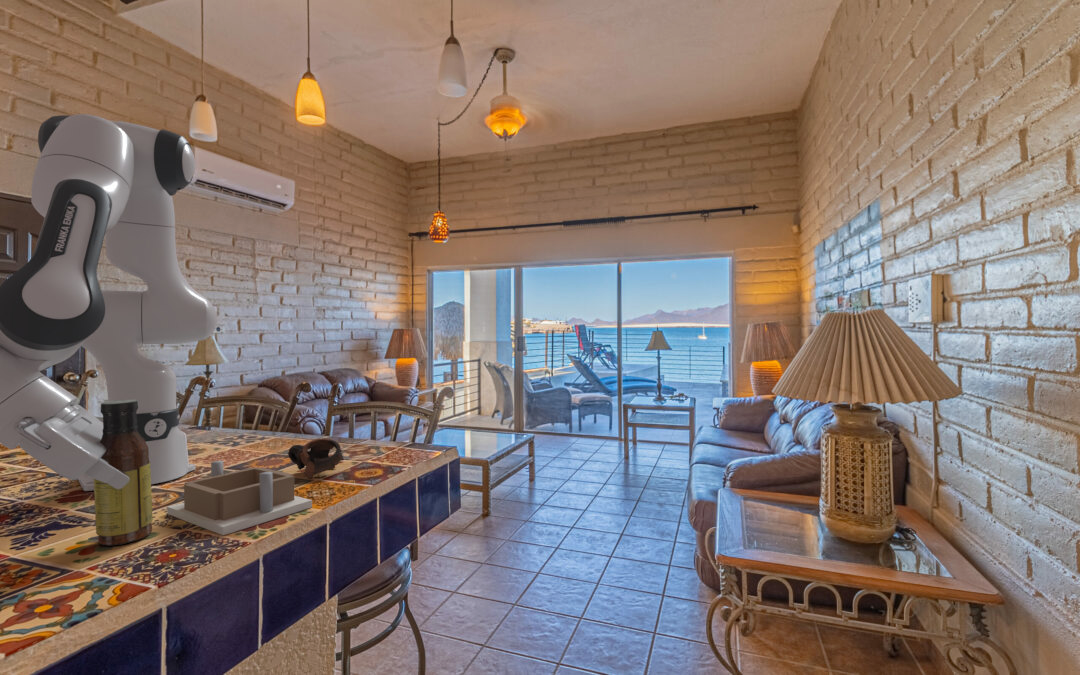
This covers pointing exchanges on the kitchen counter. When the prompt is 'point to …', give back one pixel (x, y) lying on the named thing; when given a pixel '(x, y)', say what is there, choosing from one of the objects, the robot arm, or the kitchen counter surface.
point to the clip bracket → (238, 499)
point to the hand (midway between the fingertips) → (129, 476)
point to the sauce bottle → (126, 450)
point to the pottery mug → (315, 456)
